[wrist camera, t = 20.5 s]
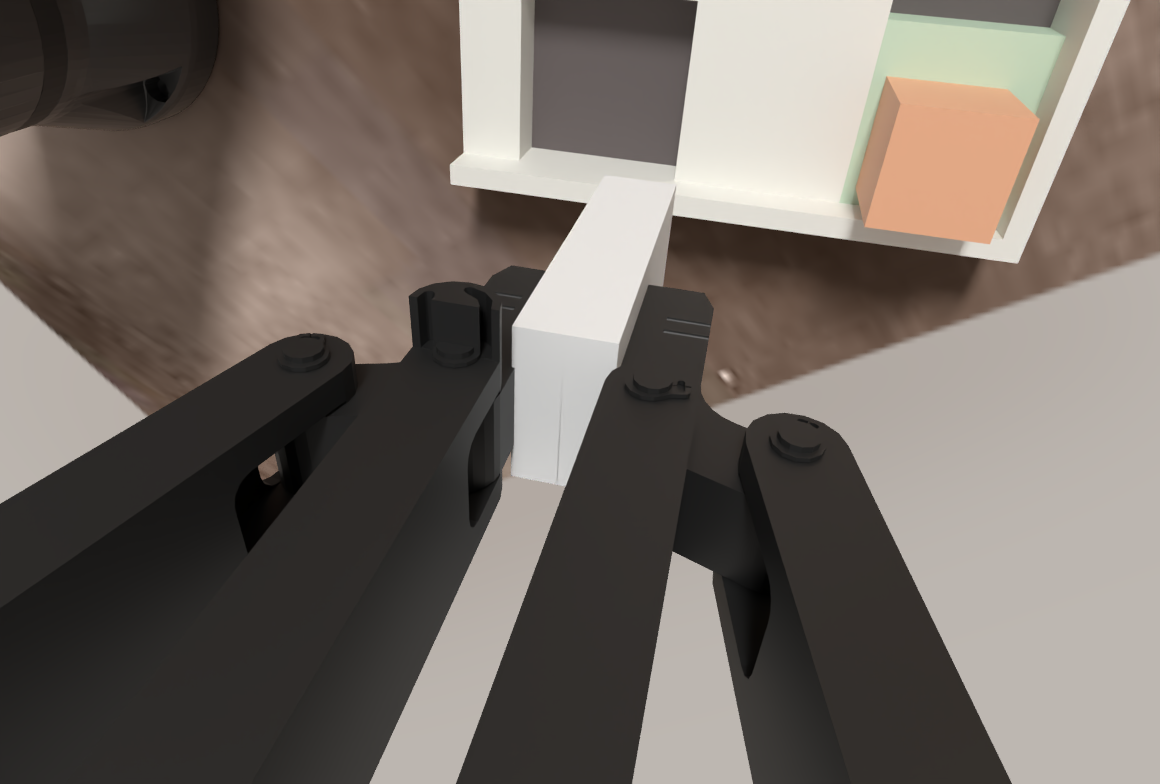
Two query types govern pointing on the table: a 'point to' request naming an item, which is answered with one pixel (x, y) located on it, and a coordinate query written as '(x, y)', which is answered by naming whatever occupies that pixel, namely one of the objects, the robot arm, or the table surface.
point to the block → (943, 158)
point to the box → (758, 99)
